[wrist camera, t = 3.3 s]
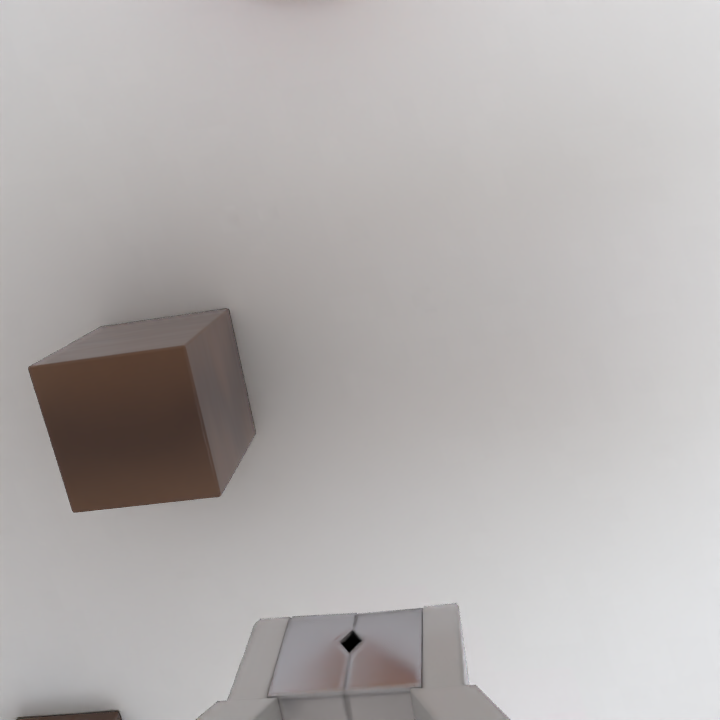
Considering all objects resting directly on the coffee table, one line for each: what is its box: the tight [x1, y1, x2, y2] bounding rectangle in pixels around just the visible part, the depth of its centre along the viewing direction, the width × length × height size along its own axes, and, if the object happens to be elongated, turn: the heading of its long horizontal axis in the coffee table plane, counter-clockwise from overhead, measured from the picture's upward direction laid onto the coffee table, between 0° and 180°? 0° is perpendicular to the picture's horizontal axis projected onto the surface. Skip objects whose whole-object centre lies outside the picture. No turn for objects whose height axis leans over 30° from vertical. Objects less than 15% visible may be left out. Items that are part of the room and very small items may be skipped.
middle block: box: [28, 309, 256, 513], centre depth 23 cm, size 5×5×5 cm
